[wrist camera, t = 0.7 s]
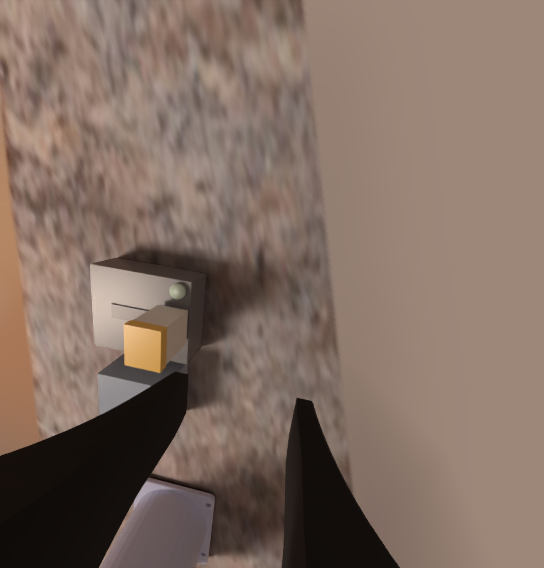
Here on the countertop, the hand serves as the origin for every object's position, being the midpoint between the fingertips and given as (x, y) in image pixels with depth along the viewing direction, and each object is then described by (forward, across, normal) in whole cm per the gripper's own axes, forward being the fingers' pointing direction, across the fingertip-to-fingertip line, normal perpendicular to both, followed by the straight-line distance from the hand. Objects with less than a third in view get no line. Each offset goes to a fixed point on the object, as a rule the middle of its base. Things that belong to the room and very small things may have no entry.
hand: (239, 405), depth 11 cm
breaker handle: (+6, +6, 0) cm, 8 cm away
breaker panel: (+8, +8, 0) cm, 12 cm away
